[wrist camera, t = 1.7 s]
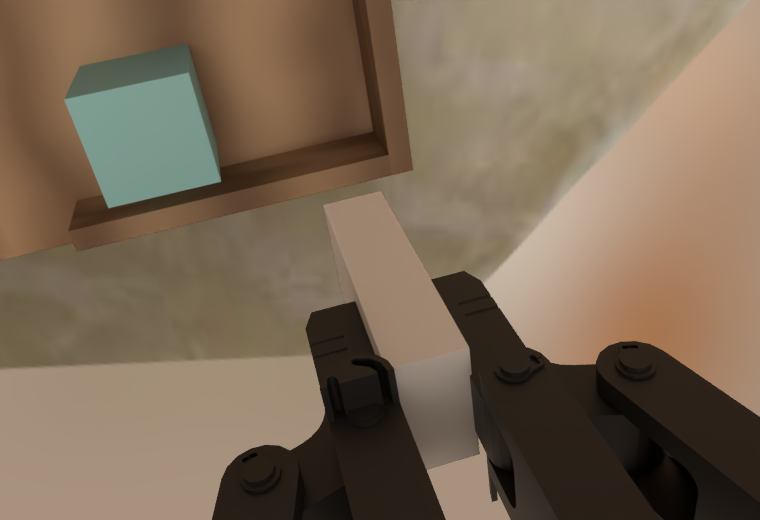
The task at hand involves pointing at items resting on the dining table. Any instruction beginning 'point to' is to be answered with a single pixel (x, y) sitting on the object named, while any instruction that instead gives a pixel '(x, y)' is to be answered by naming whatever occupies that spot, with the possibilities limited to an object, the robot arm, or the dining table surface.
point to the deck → (223, 101)
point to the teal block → (144, 125)
